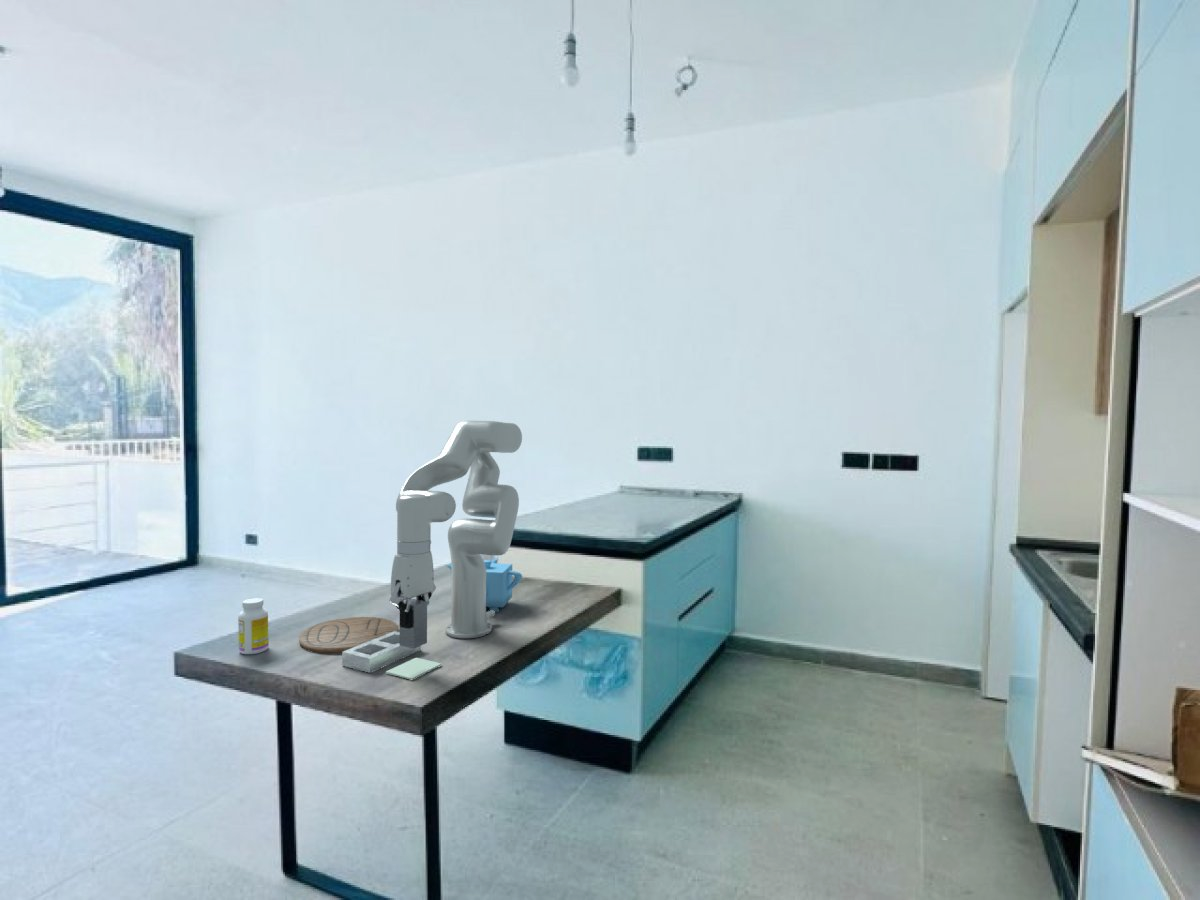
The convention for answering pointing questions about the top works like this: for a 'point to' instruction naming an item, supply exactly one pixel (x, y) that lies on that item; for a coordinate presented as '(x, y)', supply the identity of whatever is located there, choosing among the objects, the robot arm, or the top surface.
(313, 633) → the trivet
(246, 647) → the supplement bottle
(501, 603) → the teakettle
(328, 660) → the top surface
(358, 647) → the grey cinder block
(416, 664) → the sage pad
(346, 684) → the top surface
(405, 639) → the zinc peg
